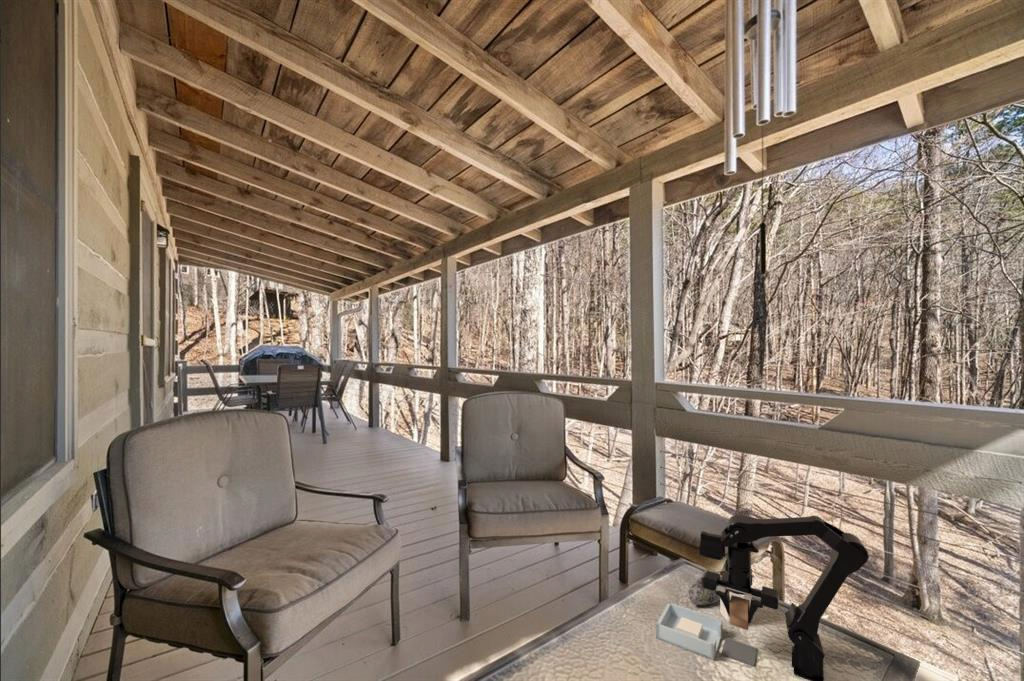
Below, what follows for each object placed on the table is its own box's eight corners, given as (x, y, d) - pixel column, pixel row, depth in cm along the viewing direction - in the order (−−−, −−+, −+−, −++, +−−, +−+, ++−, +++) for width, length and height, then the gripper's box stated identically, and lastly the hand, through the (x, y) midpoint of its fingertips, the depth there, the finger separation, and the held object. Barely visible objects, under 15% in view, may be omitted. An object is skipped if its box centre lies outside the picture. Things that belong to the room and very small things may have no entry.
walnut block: (749, 621, 121) (749, 600, 121) (747, 630, 117) (747, 608, 117) (731, 616, 123) (731, 595, 124) (729, 624, 120) (729, 602, 120)
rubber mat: (757, 649, 121) (757, 648, 121) (754, 666, 115) (754, 665, 115) (725, 638, 126) (725, 637, 126) (721, 654, 119) (721, 653, 119)
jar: (741, 629, 130) (741, 589, 130) (715, 615, 137) (715, 577, 137) (756, 619, 135) (756, 581, 135) (731, 606, 142) (731, 569, 142)
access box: (722, 633, 128) (722, 620, 128) (714, 660, 117) (714, 646, 117) (668, 614, 137) (668, 602, 137) (656, 638, 126) (656, 624, 126)
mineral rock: (691, 609, 140) (691, 578, 140) (678, 590, 151) (678, 562, 151) (730, 609, 140) (730, 578, 140) (714, 590, 151) (714, 562, 151)
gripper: (779, 561, 122) (780, 616, 122) (708, 544, 133) (709, 595, 132) (777, 578, 113) (778, 638, 113) (701, 558, 123) (701, 613, 123)
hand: (739, 619), depth 120 cm, fingers closed on walnut block, 4 cm apart
